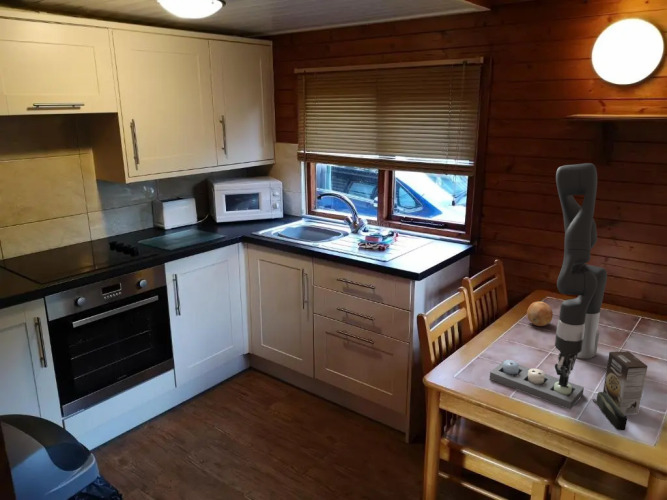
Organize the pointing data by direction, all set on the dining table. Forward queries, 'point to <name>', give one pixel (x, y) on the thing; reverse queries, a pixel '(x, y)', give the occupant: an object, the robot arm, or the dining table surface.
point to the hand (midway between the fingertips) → (563, 385)
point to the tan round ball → (539, 313)
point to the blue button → (511, 367)
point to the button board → (537, 386)
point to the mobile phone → (611, 411)
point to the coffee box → (625, 380)
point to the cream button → (536, 376)
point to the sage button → (563, 389)
